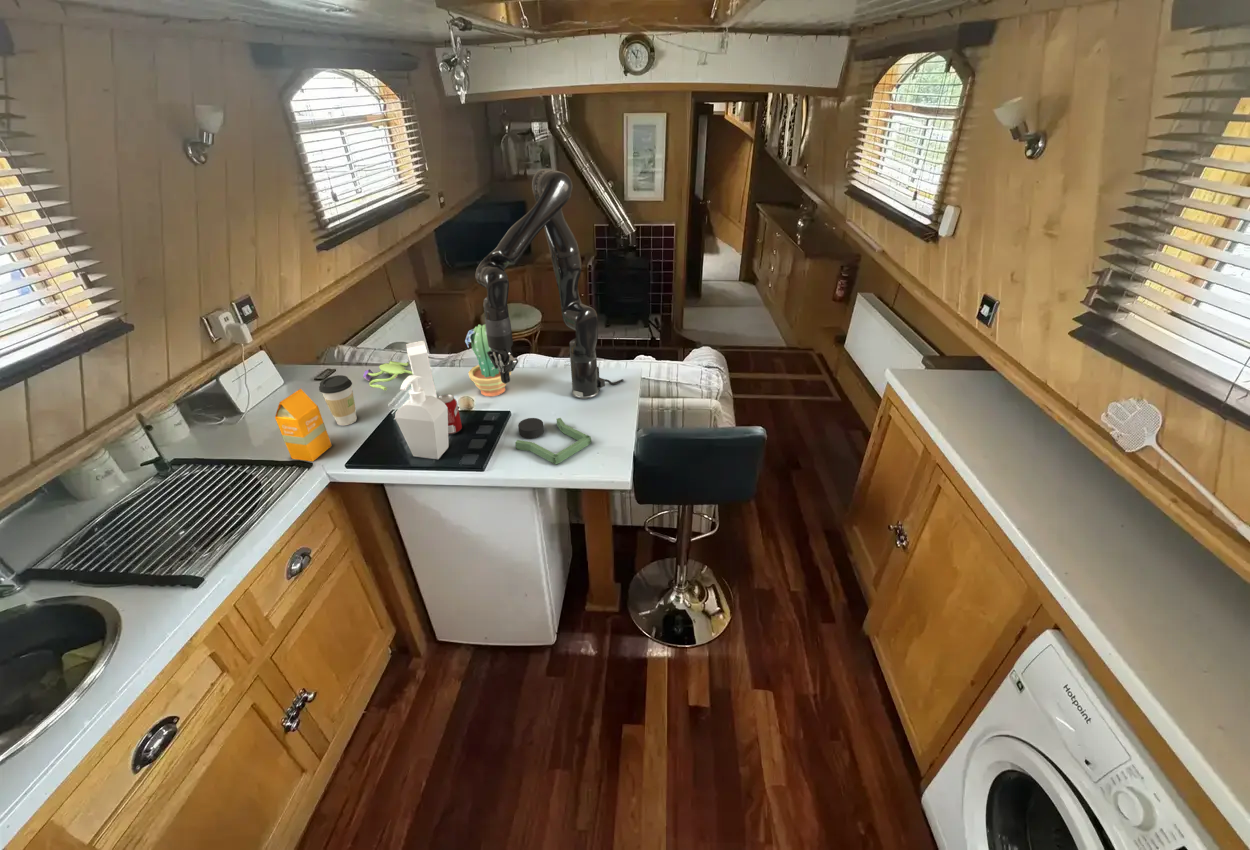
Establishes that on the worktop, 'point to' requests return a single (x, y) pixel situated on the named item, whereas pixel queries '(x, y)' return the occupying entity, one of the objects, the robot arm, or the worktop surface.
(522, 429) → the puck
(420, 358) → the milk
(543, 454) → the frame
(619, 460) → the worktop surface
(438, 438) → the soap bottle
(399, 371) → the figurine
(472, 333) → the potted cactus
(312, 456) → the orange juice
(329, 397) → the coffee cup
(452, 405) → the soda can
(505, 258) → the robot arm
